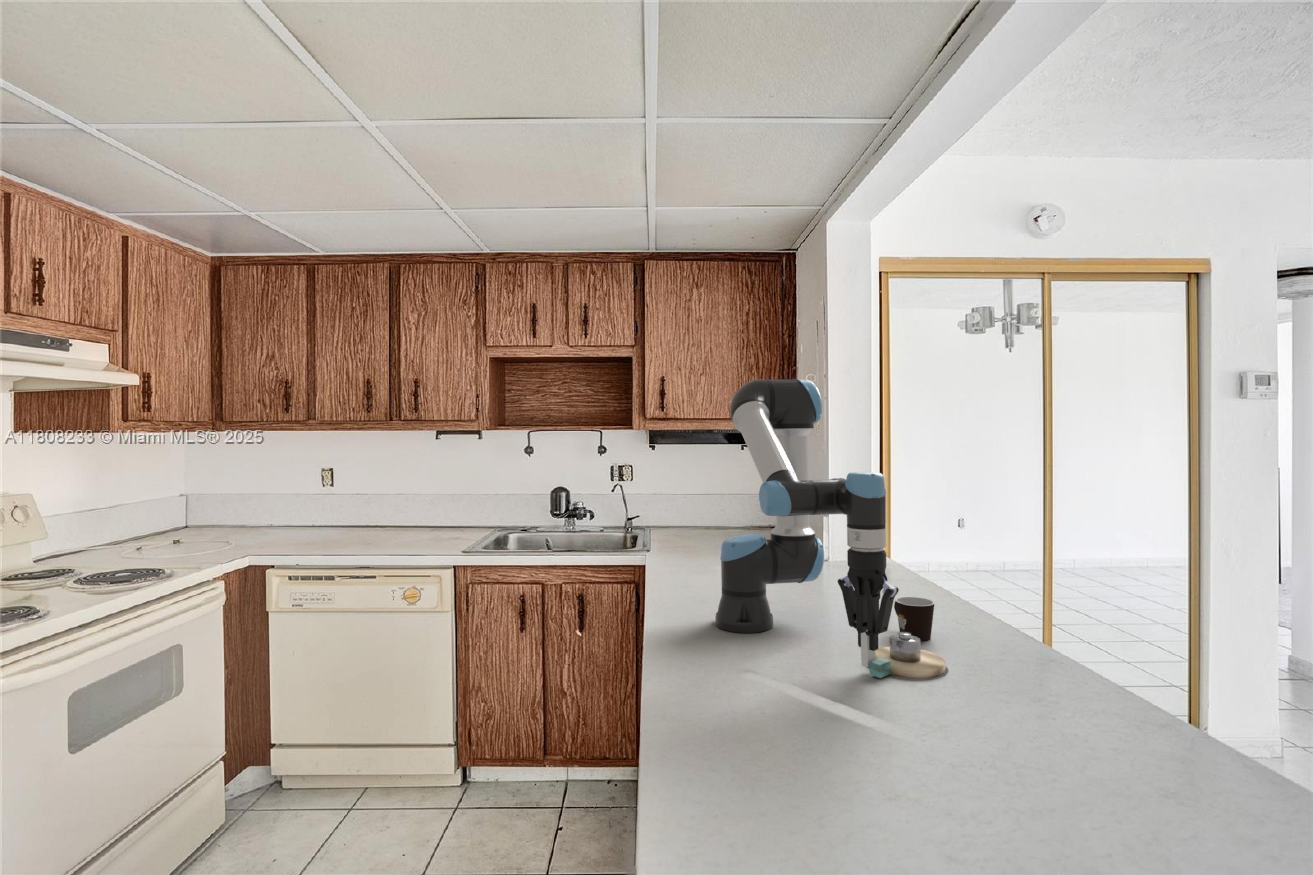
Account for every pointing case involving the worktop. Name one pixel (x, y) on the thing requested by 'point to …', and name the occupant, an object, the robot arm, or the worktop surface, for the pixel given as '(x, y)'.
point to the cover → (905, 648)
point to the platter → (907, 665)
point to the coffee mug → (915, 616)
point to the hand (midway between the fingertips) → (868, 664)
